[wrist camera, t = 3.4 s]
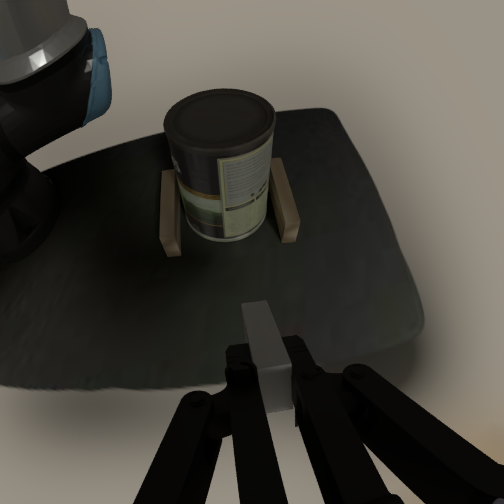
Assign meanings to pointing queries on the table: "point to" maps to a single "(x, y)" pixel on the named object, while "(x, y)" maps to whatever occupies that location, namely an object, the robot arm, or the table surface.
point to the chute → (278, 193)
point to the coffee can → (222, 160)
